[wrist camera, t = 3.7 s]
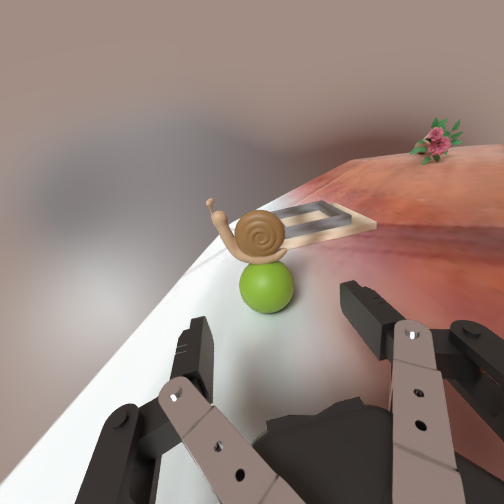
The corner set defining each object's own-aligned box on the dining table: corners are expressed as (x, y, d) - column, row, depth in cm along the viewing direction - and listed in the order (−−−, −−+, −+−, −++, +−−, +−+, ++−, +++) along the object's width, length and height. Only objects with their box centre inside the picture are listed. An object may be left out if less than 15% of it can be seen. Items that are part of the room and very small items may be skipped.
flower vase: (430, 173, 88) (463, 167, 57) (395, 167, 92) (408, 158, 62) (445, 139, 83) (490, 113, 53) (407, 135, 88) (429, 108, 57)
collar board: (335, 208, 48) (334, 195, 47) (376, 229, 36) (377, 212, 34) (252, 227, 48) (249, 214, 46) (264, 255, 35) (261, 238, 34)
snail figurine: (240, 294, 27) (213, 193, 22) (295, 288, 26) (280, 180, 21) (232, 328, 22) (196, 208, 17) (299, 323, 21) (282, 193, 16)
